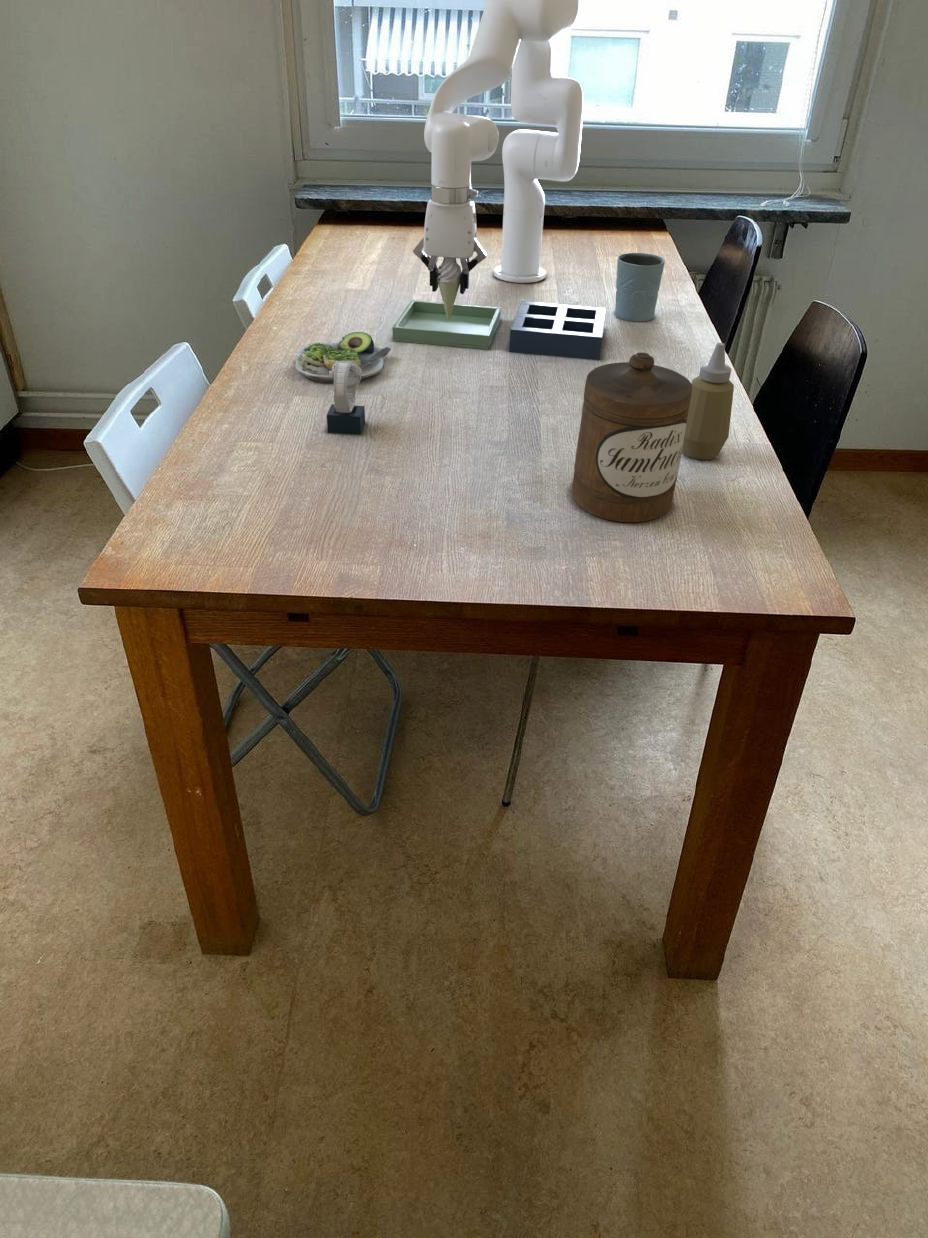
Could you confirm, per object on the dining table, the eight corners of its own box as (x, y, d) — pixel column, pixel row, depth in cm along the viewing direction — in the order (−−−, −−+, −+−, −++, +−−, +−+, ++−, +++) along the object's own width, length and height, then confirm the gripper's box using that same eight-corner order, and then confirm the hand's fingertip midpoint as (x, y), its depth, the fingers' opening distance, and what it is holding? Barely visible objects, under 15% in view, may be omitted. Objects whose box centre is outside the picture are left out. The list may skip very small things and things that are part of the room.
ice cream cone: (461, 315, 192) (463, 240, 183) (459, 323, 188) (461, 247, 179) (437, 314, 192) (438, 239, 183) (434, 322, 188) (435, 245, 179)
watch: (367, 418, 156) (364, 355, 149) (359, 439, 149) (356, 374, 143) (334, 416, 156) (330, 353, 150) (325, 437, 150) (320, 372, 143)
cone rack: (519, 321, 197) (521, 300, 194) (603, 329, 195) (606, 307, 192) (508, 351, 183) (510, 329, 180) (599, 359, 181) (602, 337, 178)
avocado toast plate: (389, 390, 165) (388, 365, 163) (289, 389, 165) (287, 364, 162) (391, 351, 181) (391, 328, 178) (300, 349, 180) (298, 326, 177)
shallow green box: (411, 312, 200) (411, 299, 198) (500, 320, 197) (500, 307, 196) (392, 340, 186) (392, 327, 184) (488, 349, 183) (488, 335, 182)
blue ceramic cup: (636, 325, 197) (644, 268, 190) (600, 312, 203) (607, 256, 196) (665, 316, 203) (674, 259, 195) (630, 304, 209) (638, 249, 201)
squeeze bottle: (729, 447, 151) (752, 340, 140) (718, 468, 145) (742, 357, 134) (680, 437, 153) (700, 331, 143) (668, 457, 147) (687, 347, 137)
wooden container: (603, 531, 128) (625, 381, 115) (553, 483, 139) (568, 341, 126) (692, 512, 133) (722, 366, 120) (637, 467, 144) (659, 329, 131)
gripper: (497, 193, 178) (493, 288, 189) (411, 187, 180) (411, 281, 191) (491, 202, 172) (487, 299, 183) (403, 195, 174) (404, 293, 185)
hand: (449, 289), depth 187 cm, fingers closed on ice cream cone, 5 cm apart
